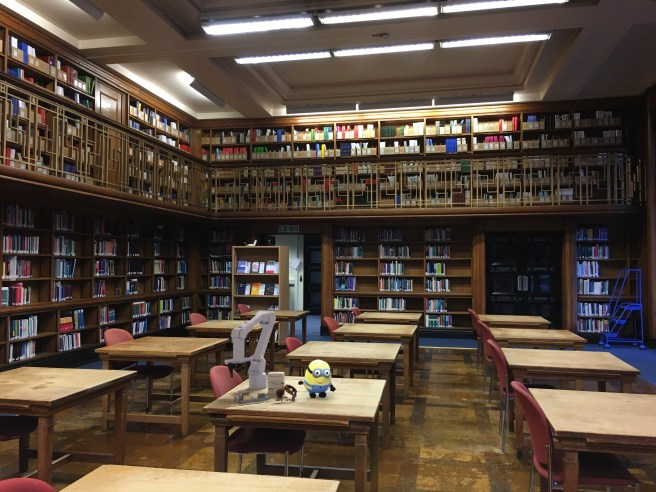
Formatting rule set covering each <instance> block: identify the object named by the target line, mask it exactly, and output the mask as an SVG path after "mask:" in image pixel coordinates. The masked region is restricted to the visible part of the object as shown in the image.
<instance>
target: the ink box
mask: <svg viewBox="0 0 656 492" xmlns="http://www.w3.org/2000/svg"><path fill="white" fill-rule="evenodd" d="M266 376H267V395H268V394H270V395H272V394H273V395H276V391H277V390H278V389H281V388H282V387H284V386H285V385H286V384H285V383H286V382H285V381H286V380H285V372H284V371H270V372H268V373H267V374H266ZM285 393H286V392H285ZM285 393H284V394H283V396H285V395H286V394H285Z"/></svg>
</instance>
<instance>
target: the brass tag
mask: <svg viewBox="0 0 656 492" xmlns="http://www.w3.org/2000/svg"><path fill="white" fill-rule="evenodd" d="M251 396H252V395H251V394H249V395H245V396H243V400H249V399H251Z"/></svg>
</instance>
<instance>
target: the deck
mask: <svg viewBox="0 0 656 492" xmlns="http://www.w3.org/2000/svg"><path fill="white" fill-rule="evenodd" d="M229 395H231V396H232V397H233V398H234V397H237V398H239V391H238V392H231V393H230V392H229Z"/></svg>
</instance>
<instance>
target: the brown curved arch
mask: <svg viewBox="0 0 656 492" xmlns="http://www.w3.org/2000/svg"><path fill="white" fill-rule="evenodd" d="M284 393H287V394H289V395H291V401H294V400H295V399H296V398H297V396H298V395H297V393H298V389H296V387H294V386H293V385H291V384H287V383H286V384H285V386H284V387H282V388H281V389H278V390H277V391H276V394H275V395H276V397H277V398H278V399H280V400H281V399H283V396H284V395H285V394H284ZM283 394H284V395H283Z"/></svg>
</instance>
